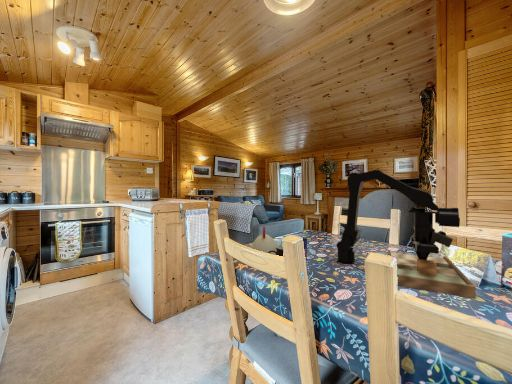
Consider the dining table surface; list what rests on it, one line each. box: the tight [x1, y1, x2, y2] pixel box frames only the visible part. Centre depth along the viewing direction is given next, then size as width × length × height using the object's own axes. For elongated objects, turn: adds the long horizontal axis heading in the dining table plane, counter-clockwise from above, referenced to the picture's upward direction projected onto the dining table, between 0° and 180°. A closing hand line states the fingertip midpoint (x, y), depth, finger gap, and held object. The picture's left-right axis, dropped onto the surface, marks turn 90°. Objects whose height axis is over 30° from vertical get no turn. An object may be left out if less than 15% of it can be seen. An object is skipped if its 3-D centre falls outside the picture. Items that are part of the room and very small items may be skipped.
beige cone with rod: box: [249, 226, 278, 255], centre depth 108 cm, size 14×14×15 cm
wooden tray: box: [387, 249, 477, 299], centre depth 90 cm, size 22×35×4 cm, turn 152°
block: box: [417, 259, 437, 276], centre depth 84 cm, size 5×5×4 cm
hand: (423, 265), depth 88 cm, fingers closed
